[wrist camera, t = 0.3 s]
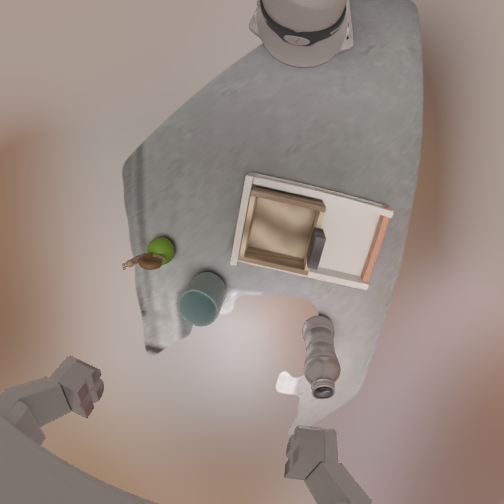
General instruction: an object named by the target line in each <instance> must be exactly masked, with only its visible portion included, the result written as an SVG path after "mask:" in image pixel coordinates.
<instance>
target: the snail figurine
mask: <svg viewBox="0 0 504 504" xmlns="http://www.w3.org/2000/svg"><path fill="white" fill-rule="evenodd" d="M173 256H174V246H173V244H172V243H171V241H170V240H168V239H166V238H163V237H159V238H156V239H154V240H152V241H151V243H150V244H149V246H148V253H145V254H141V255H138V256H136V257H134V258H132V259H131V260H128V261H127V262H126V265H127V266H128V267H132V266H133V265H134V264H136V263H139V265H140V266H141V267H142V268H144V269H148V270H153V269H157V268H159V267H161V265H164V264H167V263H168V262H170V261H171V260H172V258H173ZM123 266H125V264H123ZM127 266H126V267H127ZM123 270H125V267H123Z"/></svg>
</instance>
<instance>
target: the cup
mask: <svg viewBox="0 0 504 504" xmlns="http://www.w3.org/2000/svg"><path fill="white" fill-rule="evenodd" d="M225 295H226V288H225V284H224V282H223V280H222V279H221V278H220V277H219V276H218V275H216V274H214V273H211V272H203V273H200V274H198V275H197V276H195V277H194V278H193V279H192V280H191V281H190V282H189V284H188V285H187V286H186V288H185V289H184V290H183V292H182V293H181V295H180V296H179V299H178V301H177V309H178V311H179V313H180V315H181V316H182V317H183V318H184V319H185V320H186V321H187V322H189V323H191V324H193V325H195V326H207V325H209V324H211V323H212V322H214V320H215V319H216V318H217V316H218V314H219V312H220V310H221V307H222V305H223V302H224V299H225Z"/></svg>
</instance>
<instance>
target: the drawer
mask: <svg viewBox="0 0 504 504" xmlns="http://www.w3.org/2000/svg"><path fill="white" fill-rule="evenodd" d="M325 210H326V206H325V204H324V202H323V200H319V199H315V198H311V197H306V196H302V195H298V194H293V193H289V192H285V191H280V190H276V189H271V188H266V187H262V186H257V185H256V186H255V187H254V188H253V189H252V191H251V195H250V200H249V206H248V211H247V216H246V222H245V227H244V232H243V238H242V243H241V249H240V254H239V259H238V260H241V261H245V262H249V263H254V264H258V265H263V266H267V267H272V268H276V269H280V270H285V271H289V272H294V273H298V274H303V275H307V276H308V272H309V269H310V268H311V269H315V270H317V269H318V265H319V262H320V258H321V255H322V252H323V248H324V245H325V241H326V237H325V234H324V231H323V229H321V226H322V222H323V218H324V214H325Z"/></svg>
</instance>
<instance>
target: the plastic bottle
mask: <svg viewBox="0 0 504 504" xmlns="http://www.w3.org/2000/svg"><path fill="white" fill-rule="evenodd" d="M303 337H304V340H305V343H306V360H305V366H304V375H305V377H306V379H307V381H308V382H309V383H310V384H311V385H312V386H311V388H312V395H313V396H314V397H315V398H316V399H320V400H324V399H328V398H330V397H332V396H333V395H334V392H335V390H334V388H335V381H336V380H337V379H338V377H339V375H340V371H341V369H340V364H339V362H338V359H337V357H336V354H335V350H334V341H333V338H334V327H333V325H332V323H331V321H330V320H329V319H328V318H326V317H323V316H314V317H311V318H310V319H308V320H307V321H306V322H305V323H304V326H303Z"/></svg>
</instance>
